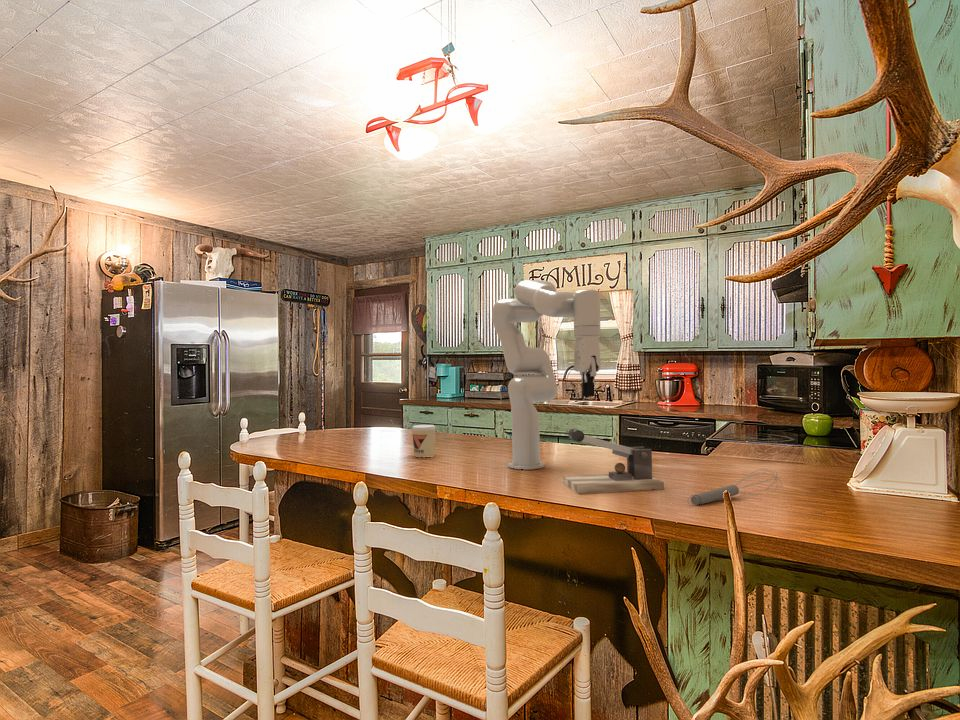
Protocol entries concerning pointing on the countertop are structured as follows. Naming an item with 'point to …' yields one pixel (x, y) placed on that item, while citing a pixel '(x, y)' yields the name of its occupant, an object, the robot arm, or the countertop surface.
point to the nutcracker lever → (600, 443)
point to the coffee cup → (424, 440)
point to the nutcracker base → (608, 484)
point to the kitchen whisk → (718, 493)
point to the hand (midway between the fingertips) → (588, 396)
